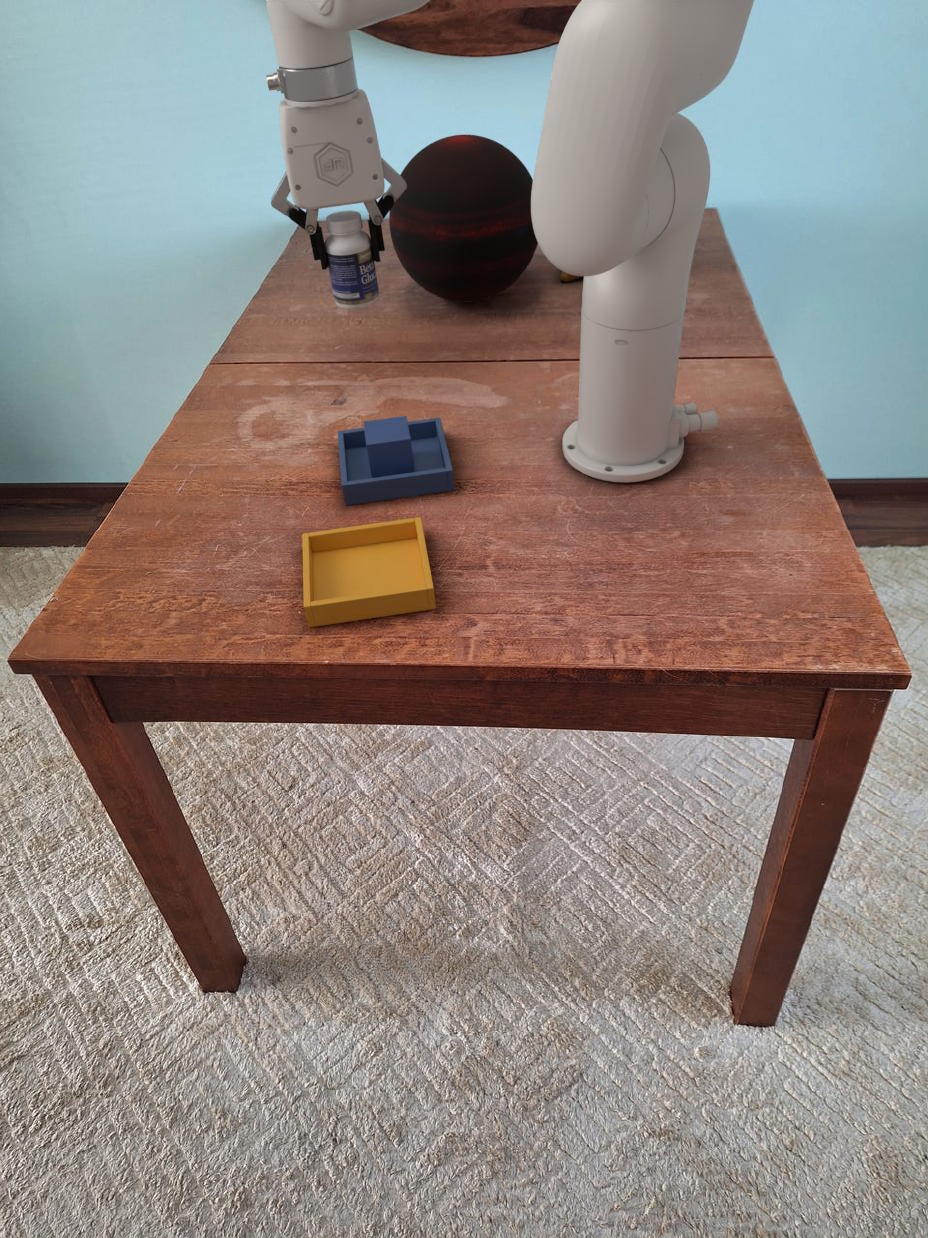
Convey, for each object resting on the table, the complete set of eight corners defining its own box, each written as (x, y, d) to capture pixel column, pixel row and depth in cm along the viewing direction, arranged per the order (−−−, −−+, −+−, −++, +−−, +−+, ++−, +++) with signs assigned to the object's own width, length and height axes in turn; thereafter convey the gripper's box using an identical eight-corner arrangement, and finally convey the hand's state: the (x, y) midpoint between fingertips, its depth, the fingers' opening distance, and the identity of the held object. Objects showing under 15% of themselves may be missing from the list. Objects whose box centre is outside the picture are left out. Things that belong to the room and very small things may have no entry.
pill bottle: (373, 311, 101) (358, 224, 94) (329, 310, 102) (312, 225, 95) (385, 291, 105) (372, 206, 98) (343, 291, 106) (327, 207, 99)
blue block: (411, 452, 93) (406, 415, 90) (415, 475, 90) (410, 438, 87) (369, 457, 93) (363, 421, 90) (372, 481, 89) (366, 444, 86)
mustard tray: (423, 537, 83) (420, 516, 81) (436, 608, 76) (433, 588, 74) (307, 553, 83) (302, 533, 81) (309, 627, 75) (303, 607, 74)
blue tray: (442, 436, 96) (440, 417, 94) (454, 490, 88) (452, 470, 87) (341, 450, 95) (337, 430, 93) (345, 505, 88) (341, 485, 86)
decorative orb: (383, 326, 116) (361, 165, 102) (415, 265, 130) (400, 115, 116) (532, 329, 112) (530, 163, 98) (548, 266, 126) (549, 112, 112)
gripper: (233, 101, 85) (276, 284, 97) (406, 78, 85) (427, 263, 98) (237, 84, 90) (277, 259, 102) (399, 63, 91) (420, 239, 103)
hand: (350, 259), depth 100 cm, fingers closed on pill bottle, 5 cm apart
